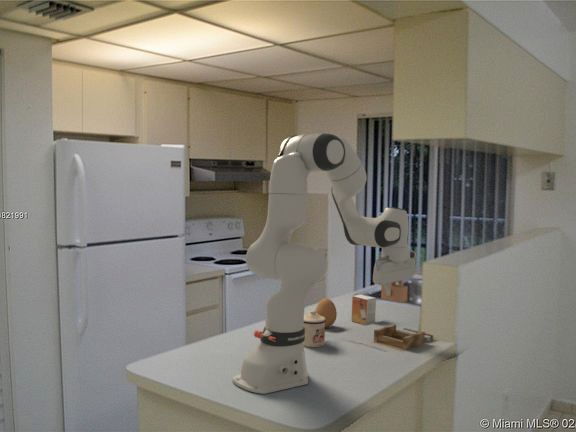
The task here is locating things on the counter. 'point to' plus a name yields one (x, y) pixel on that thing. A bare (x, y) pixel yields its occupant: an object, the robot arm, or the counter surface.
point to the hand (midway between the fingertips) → (393, 294)
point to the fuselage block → (395, 293)
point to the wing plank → (415, 333)
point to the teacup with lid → (314, 329)
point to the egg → (327, 311)
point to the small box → (363, 309)
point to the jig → (399, 338)
